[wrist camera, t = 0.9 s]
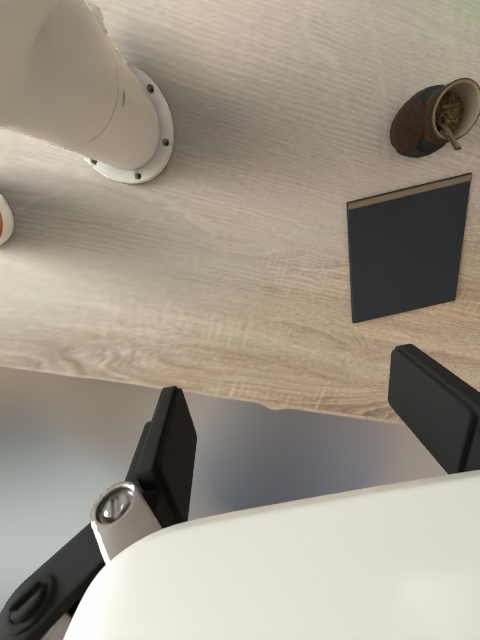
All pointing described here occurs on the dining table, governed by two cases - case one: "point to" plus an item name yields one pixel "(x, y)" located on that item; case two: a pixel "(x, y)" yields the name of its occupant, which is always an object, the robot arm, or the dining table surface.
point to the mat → (406, 247)
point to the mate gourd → (436, 118)
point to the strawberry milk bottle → (5, 220)
